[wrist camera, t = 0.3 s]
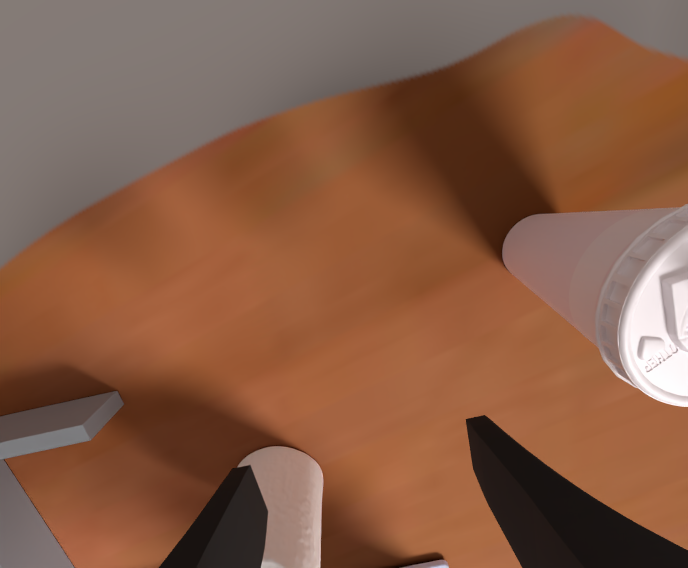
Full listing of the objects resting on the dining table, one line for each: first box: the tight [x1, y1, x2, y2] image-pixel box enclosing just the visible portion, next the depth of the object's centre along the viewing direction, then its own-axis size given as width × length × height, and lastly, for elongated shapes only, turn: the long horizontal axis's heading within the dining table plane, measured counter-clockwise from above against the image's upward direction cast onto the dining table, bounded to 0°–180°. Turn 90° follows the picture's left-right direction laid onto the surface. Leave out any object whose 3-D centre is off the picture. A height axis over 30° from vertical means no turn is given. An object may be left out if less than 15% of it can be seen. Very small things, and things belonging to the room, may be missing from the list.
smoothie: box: [502, 204, 688, 407], centre depth 12 cm, size 6×6×14 cm
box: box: [0, 391, 124, 568], centre depth 22 cm, size 18×10×3 cm, turn 13°
